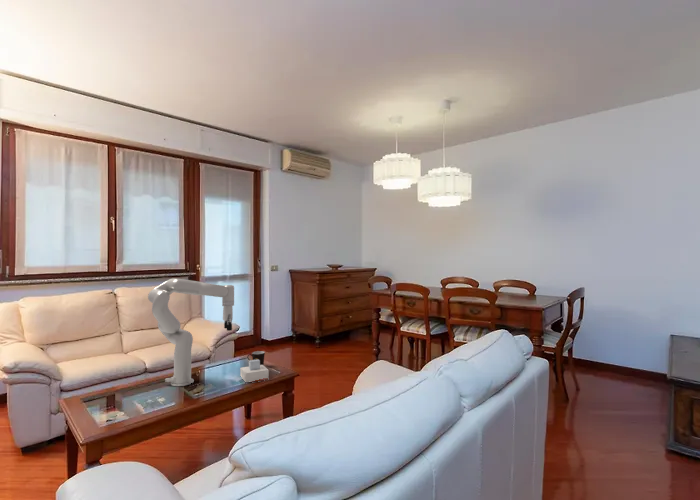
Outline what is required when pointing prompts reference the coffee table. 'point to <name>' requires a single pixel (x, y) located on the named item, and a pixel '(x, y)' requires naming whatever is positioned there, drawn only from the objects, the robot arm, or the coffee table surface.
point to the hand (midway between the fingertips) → (228, 329)
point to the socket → (253, 373)
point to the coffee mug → (258, 356)
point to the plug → (254, 364)
